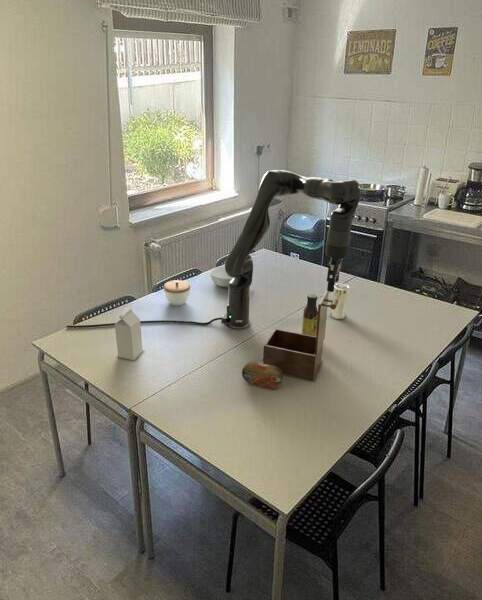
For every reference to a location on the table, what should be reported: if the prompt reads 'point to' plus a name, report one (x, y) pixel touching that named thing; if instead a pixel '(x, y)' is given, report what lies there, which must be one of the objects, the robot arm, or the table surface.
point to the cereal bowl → (220, 276)
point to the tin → (262, 375)
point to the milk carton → (128, 336)
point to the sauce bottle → (310, 316)
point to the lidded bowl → (177, 292)
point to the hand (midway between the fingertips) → (332, 286)
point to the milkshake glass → (340, 300)
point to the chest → (292, 353)
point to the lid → (323, 319)
